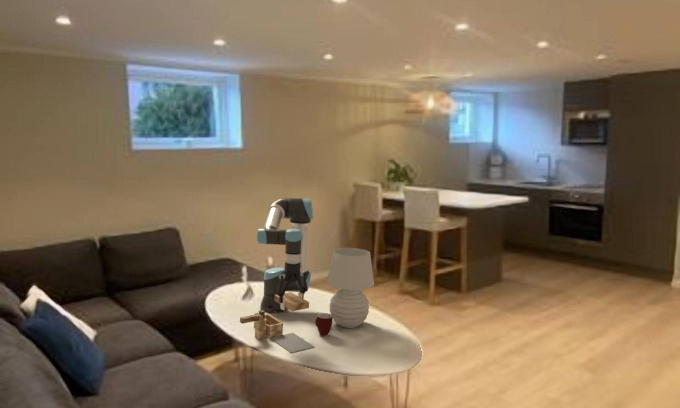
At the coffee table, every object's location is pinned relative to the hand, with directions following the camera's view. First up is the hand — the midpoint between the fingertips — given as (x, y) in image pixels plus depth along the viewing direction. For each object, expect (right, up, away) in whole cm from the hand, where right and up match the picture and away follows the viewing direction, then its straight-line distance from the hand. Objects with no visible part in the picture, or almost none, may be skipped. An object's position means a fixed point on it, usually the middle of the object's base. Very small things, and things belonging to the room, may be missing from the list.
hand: (291, 307), depth 247 cm
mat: (0, -18, +3) cm, 18 cm away
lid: (0, +2, 0) cm, 2 cm away
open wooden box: (-16, -15, +15) cm, 27 cm away
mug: (+14, -17, +16) cm, 27 cm away
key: (-19, -7, +4) cm, 21 cm away
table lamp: (+28, -15, +31) cm, 44 cm away
